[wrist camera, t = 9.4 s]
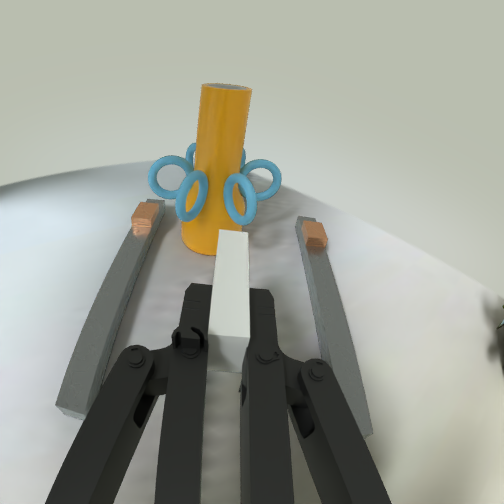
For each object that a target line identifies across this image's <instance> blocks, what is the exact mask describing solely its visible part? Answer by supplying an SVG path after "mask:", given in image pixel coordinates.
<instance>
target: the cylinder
mask: <svg viewBox="0 0 504 504" xmlns="http://www.w3.org/2000/svg"><path fill="white" fill-rule="evenodd" d="M251 93H252V89H251V88H248V87H244V86H238V85H231V84H218V83H207V84H202V88H201V97H200V107H199V118H198V128H197V139H196V143H192V144H191V145H190V146H189V147H188V149H187V152H186V159H184V158H182V157H179V156H172V155H171V156H165V157H162V158H160V159H158V160H157V161H156V162H155V163H154V164H153V165H152V166H151V168H150V170H149V173H148V182H149V185H150V187H151V189H152V191H153V192H154V193H155V194H157V195H158V196H160V197H162V198H165V199H176V204H175V208H176V214H177V216H178V218H179V219H180V220H181V236H182V240H183V242H184V244H185V245H186V246H187V247H188V248H189V249H191V250H192V251H194V252H196V253H200V254H204V255H216V254H217V245H218V237H219V229H221V230H230V231H239V232H242V226H243V225H248V224H249V223H251V222H252V221H253V219H254V217H255V215H256V211H257V201H262V200H266V199H268V198H270V197H272V196H273V195H274V194H275V193H276V192H277V191H278V189H279V187H280V185H281V173H280V170H279V169H278V167H277V166H276V165H275V164H274V163H272V162H270V161H268V160H263V159H258V160H253V161H250V162H248V163H247V164H245V159H246V156H245V150H244V148H243V145H244V139H245V132H246V125H247V118H248V112H249V106H250V99H251ZM194 151H195V164H194V166H193V154H194ZM169 164H175V165H178V166H180V167H181V168H183V169H184V171H185V173H186V177H185V179H184V180H183V182H182V183H181V185H180V188H179V189H178V190H175V191H168V190H165V189H163V188H161V187H160V186H159V184H158V182H157V178H156V177H157V173H158V171H159V170H160V169H161V168H162V167H163V166H165V165H169ZM256 168H265V169H268V170H269V171H270V172H271V173H272V175H273V183H272V185H271V186H270V188H269V189H267V190H266V191H264V192H261V193H255V190H254V187H253V185H252V183H251V182H250V180H249V179H248V178H247V177H246V176H247V174H248V173H249V172H250V171H251V170H253V169H256ZM242 196H243V197H245V198H246V200H247V209H246V213H245V202H244V200H243V197H242ZM244 213H245V215H244Z"/></svg>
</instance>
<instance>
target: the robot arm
mask: <svg viewBox="0 0 504 504" xmlns="http://www.w3.org/2000/svg"><path fill="white" fill-rule="evenodd" d="M207 370H210V371H221V372H235V373H241V371H242V381H241V384H240V388H239V392H240V476H241V504H294V495H293V480H292V465H291V451H290V438H289V425H288V413H287V409H288V412H289V415H290V418H291V420H292V423H293V426H294V429H295V432H296V434H297V437H298V440H299V443H300V445H301V448H302V451H303V453H304V456H305V459H306V462H307V464H308V467H309V470H310V472H311V475H312V478H313V480H314V483H315V486H316V488H317V491H318V494H319V496H320V499H321V502H322V504H392V503H391V501H390V499H389V496H388V494H387V491H386V489H385V487H384V484H383V482H382V480H381V477H380V475H379V473H378V470H377V468H376V466H375V463H374V461H373V459H372V457H371V454H370V452H369V450H368V447H367V445H366V443H365V441H364V438H363V436H362V434H361V432H360V429H359V427H358V425H357V423H356V420H355V418H354V416H353V414H352V412H351V409H350V407H349V405H348V403H347V401H346V398H345V396H344V394H343V392H342V390H341V387H340V385H339V383H338V381H337V379H336V377H335V374H334V372H333V370H332V368H331V367H330V366H329V364H327V363H326V362H325V361H323V360H320V359H310V360H308V361H306V362H305V363H304V362H301V361H298V360H294V359H292V358H289V357H288V356H286V355H285V354H284V353H283V352H282V351H281V350H280V348H279V346H278V340H277V329H276V319H275V309H274V298H273V297H272V295H271V293H270V292H269V290H266V289H255V288H249V253H248V232H239V231H230V230H221V229H219V237H218V245H217V254H216V262H215V271H214V280H213V285H206V284H197V283H191V284H190V286H189V287H188V288H187V289H186V291H185V296H184V302H183V306H182V312H181V317H180V323H179V327H177V328H176V329H175V330H174V332H173V334H172V344H171V345H170V346H168V347H166V348H162V349H157V350H151V351H149V349H147V348H146V347H144V346H140V345H133V346H129V347H127V348H125V349H124V350H123V351H122V353H121V354H120V356H119V357H118V359H117V361H116V363H115V364H114V366H113V368H112V370H111V372H110V373H109V375H108V377H107V379H106V381H105V382H104V384H103V386H102V388H101V390H100V391H99V393H98V395H97V397H96V399H95V401H94V403H93V404H92V406H91V408H90V410H89V412H88V414H87V416H86V418H85V420H84V422H83V424H82V426H81V428H80V429H79V431H78V433H77V435H76V437H75V439H74V441H73V444H72V446H71V448H70V450H69V452H68V454H67V456H66V458H65V460H64V462H63V464H62V466H61V469H60V471H59V473H58V475H57V477H56V480H55V482H54V484H53V486H52V489H51V491H50V493H49V495H48V498H47V500H46V503H45V504H113V503H114V500H115V498H116V495H117V493H118V490H119V488H120V486H121V483H122V481H123V478H124V476H125V473H126V471H127V469H128V466H129V464H130V462H131V459H132V457H133V455H134V452H135V450H136V447H137V445H138V443H139V440H140V438H141V436H142V434H143V431H144V429H145V427H146V424H147V422H148V420H149V417H150V415H151V413H152V411H153V408H154V406H155V404H156V402H157V399H158V397H159V395H164V394H166V397H165V404H164V412H163V420H162V428H161V436H160V445H159V455H158V465H157V477H156V489H155V503H154V504H200V499H201V468H202V445H203V426H204V408H205V393H206V376H207Z"/></svg>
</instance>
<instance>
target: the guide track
mask: <svg viewBox="0 0 504 504" xmlns="http://www.w3.org/2000/svg"><path fill="white" fill-rule="evenodd" d="M164 212H165V200H153V199H147V201H146V202H140V204H139V205H138V207H137V209H136V210H135V212H134V214H133V215H132V217H131V220H132V227H131V229H130V231H129V233H128V234H127V236H126V238H125V240H124V242H123V244H122V246H121V248H120V249H119V251H118V253H117V255H116V257H115V259H114V261H113V263H112V265H111V267H110V269H109V271H108V273H107V275H106V277H105V279H104V282H103V284H102V286H101V288H100V290H99V292H98V294H97V297H96V299H95V301H94V303H93V305H92V308H91V310H90V312H89V315H88V317H87V319H86V322H85V324H84V326H83V329H82V331H81V334H80V336H79V339H78V341H77V344H76V346H75V349H74V352H73V354H72V357H71V360H70V362H69V365H68V368H67V371H66V374H65V377H64V380H63V383H62V386H61V389H60V392H59V395H58V398H57V401H56V406H57V407H58V408H59V409H60V410H61V411H62V412H63V413H64V414H65V415H68V416H71V417H74V418H78V419H81V420H85V418H86V416H87V414H88V412H89V410H90V408H91V406H92V404H93V403H94V401H95V399H96V397H97V395H98V393H99V391H100V387H101V384H102V380H103V377H104V373H105V370H106V366H107V363H108V360H109V356H110V353H111V350H112V347H113V344H114V341H115V338H116V335H117V332H118V329H119V326H120V323H121V320H122V317H123V314H124V311H125V308H126V306H127V303H128V300H129V297H130V295H131V292H132V289H133V287H134V284H135V281H136V279H137V276H138V274H139V271H140V269H141V266H142V264H143V261H144V259H145V256H146V254H147V251H148V249H149V247H150V244H151V242H152V240H153V237H154V235H155V233H156V230H157V228H158V226H159V224H160V221H161V219H162V217H163V215H164ZM295 228H296V232H297V237H298V241H299V246H300V250H301V255H302V260H303V264H304V269H305V274H306V278H307V283H308V288H309V293H310V298H311V303H312V308H313V313H314V319H315V324H316V329H317V335H318V340H319V346H320V351H321V357H322V360H323V361H325V362H326V363H327V364H329V366H330V367H331V368H332V370H333V372H334V374H335V377H336V379H337V381H338V383H339V385H340V387H341V390H342V392H343V394H344V396H345V398H346V401H347V403H348V405H349V407H350V409H351V412H352V414H353V416H354V418H355V420H356V423H357V425H358V427H359V429H360V432H361V434H362V436H363V438H364V439H365V438H367V437H368V436H370V435H371V434H373V430H372V425H371V420H370V415H369V410H368V405H367V401H366V396H365V392H364V387H363V383H362V379H361V374H360V370H359V366H358V362H357V358H356V354H355V350H354V346H353V342H352V338H351V334H350V331H349V327H348V323H347V320H346V316H345V312H344V309H343V305H342V302H341V298H340V295H339V292H338V288H337V285H336V282H335V278H334V275H333V272H332V269H331V265H330V262H329V259H328V256H327V253H326V250H325V246H326V243H327V240H328V239H327V236H326V233H325V230H324V228H323V225H322V223H319V222H316V220H315V218H309V217H302V216H298V219H297V222H296V226H295Z"/></svg>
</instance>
